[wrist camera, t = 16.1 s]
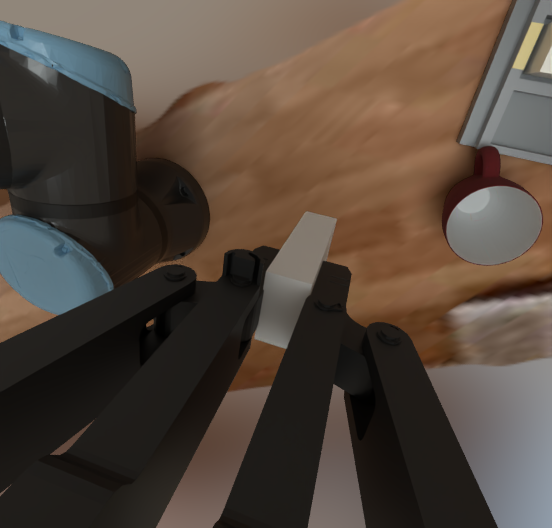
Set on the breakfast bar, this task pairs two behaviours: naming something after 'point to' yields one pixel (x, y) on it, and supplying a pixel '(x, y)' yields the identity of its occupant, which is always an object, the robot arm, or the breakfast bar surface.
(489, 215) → the mug
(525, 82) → the switch bank
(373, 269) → the breakfast bar surface
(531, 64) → the tab
